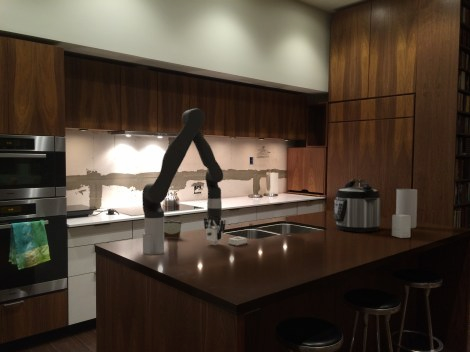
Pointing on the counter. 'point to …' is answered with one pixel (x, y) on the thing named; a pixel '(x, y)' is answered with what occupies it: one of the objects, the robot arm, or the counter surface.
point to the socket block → (237, 241)
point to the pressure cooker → (357, 208)
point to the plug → (212, 235)
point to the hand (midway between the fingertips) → (214, 238)
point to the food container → (172, 228)
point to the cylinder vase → (407, 204)
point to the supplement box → (401, 225)
